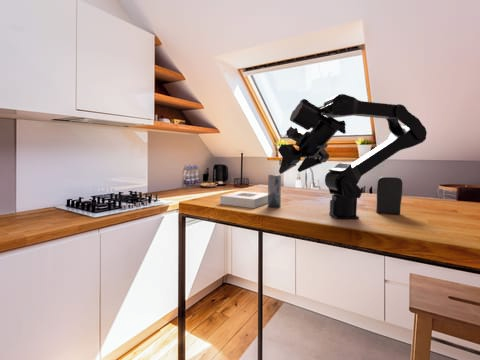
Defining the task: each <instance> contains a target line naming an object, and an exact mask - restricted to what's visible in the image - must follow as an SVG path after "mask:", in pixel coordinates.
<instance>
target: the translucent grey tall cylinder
mask: <svg viewBox="0 0 480 360" xmlns="http://www.w3.org/2000/svg"><path fill="white" fill-rule="evenodd" d="M281 190H282V174H268V177H267V193H268V203H267V207H268V208H271V209H272V208H273V209H278V208H280V207H281V206H282V205H281V203H282V201H281V200H282V197H281V195H282V191H281Z"/></svg>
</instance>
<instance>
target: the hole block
mask: <svg viewBox="0 0 480 360" xmlns="http://www.w3.org/2000/svg"><path fill="white" fill-rule="evenodd" d="M219 199H220V200H219V201H220V202H219V203H220V205H226V206H234V207H242V208H251V209H256V208H258V207H261V206H263V205H266V204H267V205H268V192H267V193H266V192H255V191H245V190H239V191H238V190H237V191H235V192H231V193H226V194H223V195H222V194H221V195H220V198H219Z"/></svg>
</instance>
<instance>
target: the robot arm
mask: <svg viewBox="0 0 480 360" xmlns="http://www.w3.org/2000/svg"><path fill="white" fill-rule="evenodd" d="M352 116H355V117H366V118H374V119H375V118H376V119H385V120H386V121H387V126H388V130H389V131H390V134H389V136H388V139H386V140H385V141H384V142H382V143H381V144H379V145H378V146H376V147H375V148H373V149H372V150H370V151H368V152H367V153H365V154H364V155H363V156H361V157H359V158H358V159H356V160H355V161H353V162H352V163H343V162H339V163H338V164H336V165H335V166H334V167H333V168H329V169H328V172H327V173H326V175H325V177H324V184H325V186H326V187H327V189H328V191H329V193H330V194H331V199H330V200H329V213H328V214H329V215H330V216H332V217H333V218H335V219H339V220H340V219H345V220H346V219H359V218H360V216H358V215H357V209H358V208H357V206H358V199H360V198H361V196H362V194H363V190H362V188H360V187H359V185H357V184H359V183H360V180H361V177H362V176H364V175H366V174H367V173H368V172H370V171H371V170H373V169H374V168H376V167H377V166H378V165H380V164H382V163H383V162H385V161H386V160H388V159H389V158H391V157H392V156H394V155H395V154H397V153H399V152H400V151H402V150H405V149H409V148H412V147H415V146H418V145H420V144H423V143H424V142H425V141H426V139H427V133H428V132H427V128H426V126H424V125H423V123H422V122H421V121H420V119H419V118H418V117H417V116H415V115H413V114H412V113H411V112H410V111H409V110H408V108H407V107H406V106H405V105H403V104H398V103H397V104H394V103H393V104H391V103H382V102H373V101H365V100H364V101H363V100H360V99H357V98H355V97H354V96H351V95H348V94H346V93H345V94H344V93H341V94H338V95H335V96H332V97H330V98H327V99H326V100H325V101H324V103H323V105H322V106H317V105H316V104H315V105H314V104H313V103H312V102H310V101H309V99H306V98H302V99H301V100H300V101H299V103H298V104H297V105H296V107H295V108H294V109H293V110H292V112H291V114H290V116H289V117H290V118H289V120H290V122H292V123H294V124H295V125H297V126H299V127H301V128H299V127H295V126H290V127H288V129H287V130H286V133H285V135H286V137H287V138H288V139H291V140H292V141H294V142H295V143H294V144H295V145H296V146H297V148H298V149H297V148H296V147H295V146H294V145H293V144H285V143H284V144H283V143H282V144H281V145H280V146H279V147H278V149H277V152H278V153H279V154H280V156H281V157H282V158H281V163H280V166H279V169H278V173H279V175H282V174H284V173H286V172H288V171H289V170H290V169H292V168H294V167H296V166H297V164H298V163H299V162H301V159H303V161H302V162H301V163H300V165H299V166H298V168H297V172H298V173H301V172H303V171H306V170H309V169H311V168H314V167H315V166H318V165H322V164H324V163H326V162H327V161H328V160H329V158H330V154H329V153H328V151H327V150H326V148H327V147H328V146H329V145H328V142H330V140H331V139H333V137H334V136H335V134H336V133H337V132H340V133H342V134H343V135H346V133H347V131H346V125H347V124H346V121H345V120H338V119H335V118H344V117H352ZM401 123H402V124H404V125H401ZM302 128H303V129H302ZM305 130H307V131H305ZM308 130H310V131H308Z"/></svg>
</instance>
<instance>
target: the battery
mask: <svg viewBox="0 0 480 360" xmlns="http://www.w3.org/2000/svg"><path fill="white" fill-rule="evenodd" d="M403 184H404V183H403V179H402V178H401V177H397V176H380V177H379V178H378V179H377V181H376V203H375V204H376V205H375V206H376V207H375V208H376V209H375V212H376V213H378V214H389V215H400V214H401V207H402V199H403V189H404V188H403V187H404V185H403Z"/></svg>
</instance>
